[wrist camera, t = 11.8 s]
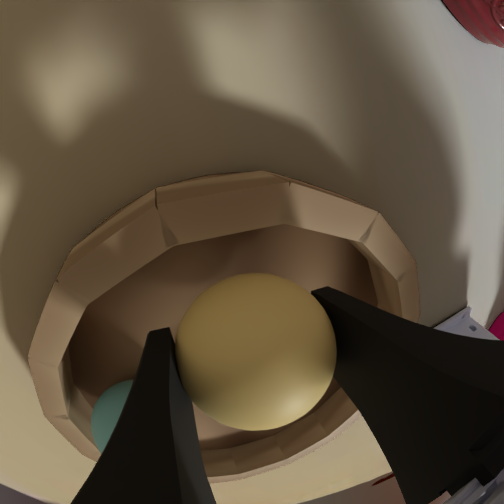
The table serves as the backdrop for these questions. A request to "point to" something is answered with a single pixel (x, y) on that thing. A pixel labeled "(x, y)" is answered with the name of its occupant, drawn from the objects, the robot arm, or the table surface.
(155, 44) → the table surface
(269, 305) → the bead ochre
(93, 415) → the bead teal
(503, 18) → the canister
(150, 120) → the table surface
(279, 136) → the table surface
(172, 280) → the groove tray
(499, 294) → the table surface
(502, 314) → the pepper mill
